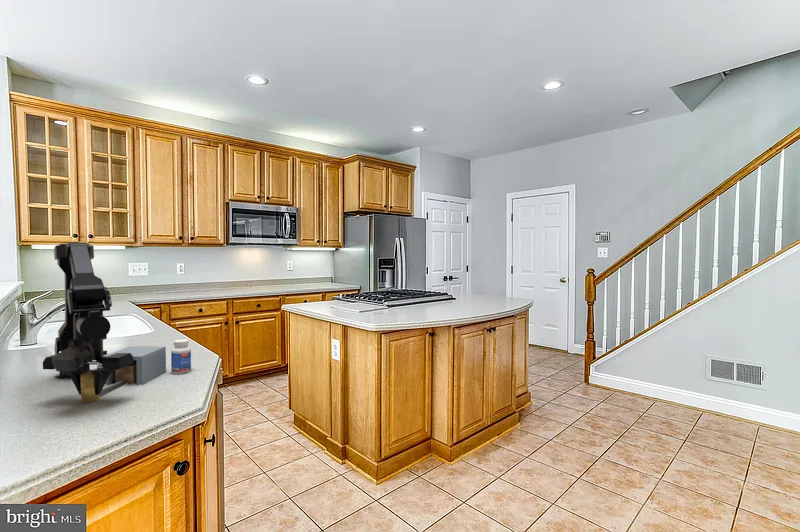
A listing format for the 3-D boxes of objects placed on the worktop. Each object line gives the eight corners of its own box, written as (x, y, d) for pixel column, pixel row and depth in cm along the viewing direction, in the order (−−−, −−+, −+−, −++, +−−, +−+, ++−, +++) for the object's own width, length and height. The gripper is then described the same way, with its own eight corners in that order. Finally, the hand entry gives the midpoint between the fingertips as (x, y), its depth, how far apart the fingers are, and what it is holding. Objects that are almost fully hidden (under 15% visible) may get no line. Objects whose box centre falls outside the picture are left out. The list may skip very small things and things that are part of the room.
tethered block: (74, 403, 97) (73, 375, 97) (127, 377, 116) (126, 354, 116) (94, 403, 97) (94, 375, 97) (144, 377, 116) (144, 354, 116)
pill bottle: (182, 374, 120) (181, 343, 119) (167, 373, 121) (166, 342, 120) (195, 369, 125) (194, 339, 124) (180, 368, 126) (180, 338, 126)
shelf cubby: (103, 384, 111) (102, 356, 110) (130, 371, 122) (130, 346, 122) (142, 384, 111) (141, 356, 110) (166, 371, 122) (165, 346, 122)
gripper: (20, 340, 90) (22, 407, 91) (102, 341, 90) (103, 407, 91) (61, 330, 101) (63, 389, 102) (134, 330, 101) (135, 390, 102)
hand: (90, 394), depth 99 cm, fingers closed on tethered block, 4 cm apart
